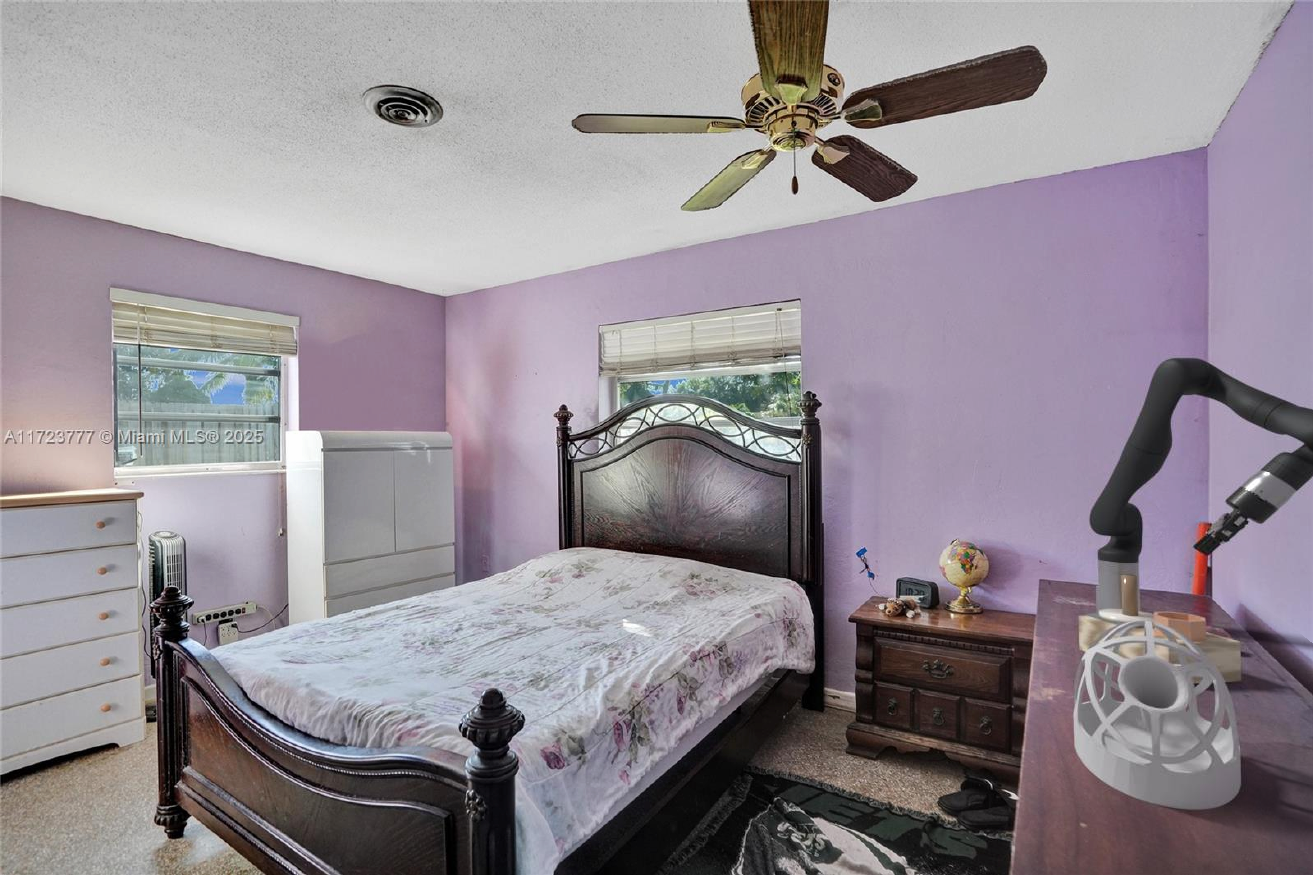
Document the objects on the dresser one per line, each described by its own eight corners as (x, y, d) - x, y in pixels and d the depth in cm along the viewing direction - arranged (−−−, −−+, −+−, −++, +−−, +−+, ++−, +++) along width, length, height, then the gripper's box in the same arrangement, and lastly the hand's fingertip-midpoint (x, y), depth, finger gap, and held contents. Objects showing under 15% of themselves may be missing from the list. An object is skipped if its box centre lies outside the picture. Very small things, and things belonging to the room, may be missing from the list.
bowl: (1144, 630, 140) (1143, 612, 140) (1179, 629, 141) (1179, 611, 141) (1179, 641, 132) (1179, 622, 132) (1217, 640, 132) (1216, 620, 133)
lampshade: (1077, 720, 112) (1230, 750, 100) (1067, 783, 90) (1261, 830, 79) (1074, 602, 113) (1226, 619, 101) (1064, 636, 91) (1255, 662, 80)
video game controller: (1231, 658, 152) (1220, 628, 155) (1245, 655, 148) (1233, 623, 151) (1186, 657, 152) (1175, 627, 156) (1198, 653, 149) (1187, 623, 152)
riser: (1079, 649, 154) (1078, 615, 154) (1141, 647, 155) (1140, 613, 155) (1169, 684, 130) (1168, 644, 130) (1241, 681, 131) (1240, 641, 132)
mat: (1086, 615, 154) (1086, 613, 154) (1132, 614, 155) (1132, 612, 155) (1128, 628, 142) (1128, 626, 142) (1177, 626, 143) (1177, 625, 143)
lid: (1086, 613, 154) (1085, 571, 154) (1132, 612, 155) (1131, 570, 156) (1128, 626, 142) (1126, 580, 142) (1177, 625, 143) (1176, 579, 144)
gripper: (1236, 485, 146) (1179, 538, 151) (1247, 484, 134) (1185, 541, 139) (1272, 508, 142) (1212, 561, 147) (1287, 508, 131) (1221, 566, 135)
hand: (1199, 551), depth 143 cm, fingers open, 8 cm apart
